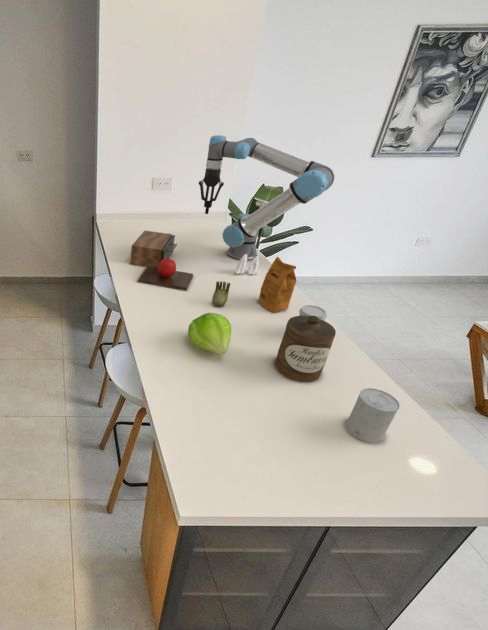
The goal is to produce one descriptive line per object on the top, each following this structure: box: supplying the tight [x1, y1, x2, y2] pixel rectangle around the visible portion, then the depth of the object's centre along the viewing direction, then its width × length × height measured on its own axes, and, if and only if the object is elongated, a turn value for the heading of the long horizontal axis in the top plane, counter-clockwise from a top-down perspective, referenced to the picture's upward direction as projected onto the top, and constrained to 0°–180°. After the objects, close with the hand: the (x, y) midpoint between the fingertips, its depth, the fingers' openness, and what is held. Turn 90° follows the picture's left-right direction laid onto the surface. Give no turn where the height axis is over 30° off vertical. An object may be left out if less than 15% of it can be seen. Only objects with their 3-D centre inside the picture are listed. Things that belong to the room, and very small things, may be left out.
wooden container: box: [274, 315, 336, 383], centre depth 145 cm, size 15×15×22 cm
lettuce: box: [187, 312, 232, 356], centre depth 159 cm, size 15×20×14 cm
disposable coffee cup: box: [298, 304, 328, 321], centre depth 165 cm, size 10×10×12 cm
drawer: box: [161, 234, 178, 261], centre depth 232 cm, size 20×25×10 cm
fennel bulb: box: [211, 280, 231, 308], centre depth 187 cm, size 6×5×12 cm
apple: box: [158, 257, 177, 278], centre depth 210 cm, size 9×9×10 cm
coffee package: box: [257, 256, 297, 313], centre depth 183 cm, size 10×12×22 cm
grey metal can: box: [345, 387, 401, 444], centre depth 122 cm, size 10×10×12 cm
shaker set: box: [235, 254, 260, 276], centre depth 214 cm, size 12×4×11 cm, turn 97°
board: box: [137, 266, 194, 292], centre depth 213 cm, size 24×17×2 cm
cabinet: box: [130, 230, 173, 268], centre depth 233 cm, size 16×25×11 cm, turn 155°
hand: (206, 213), depth 228 cm, fingers closed
